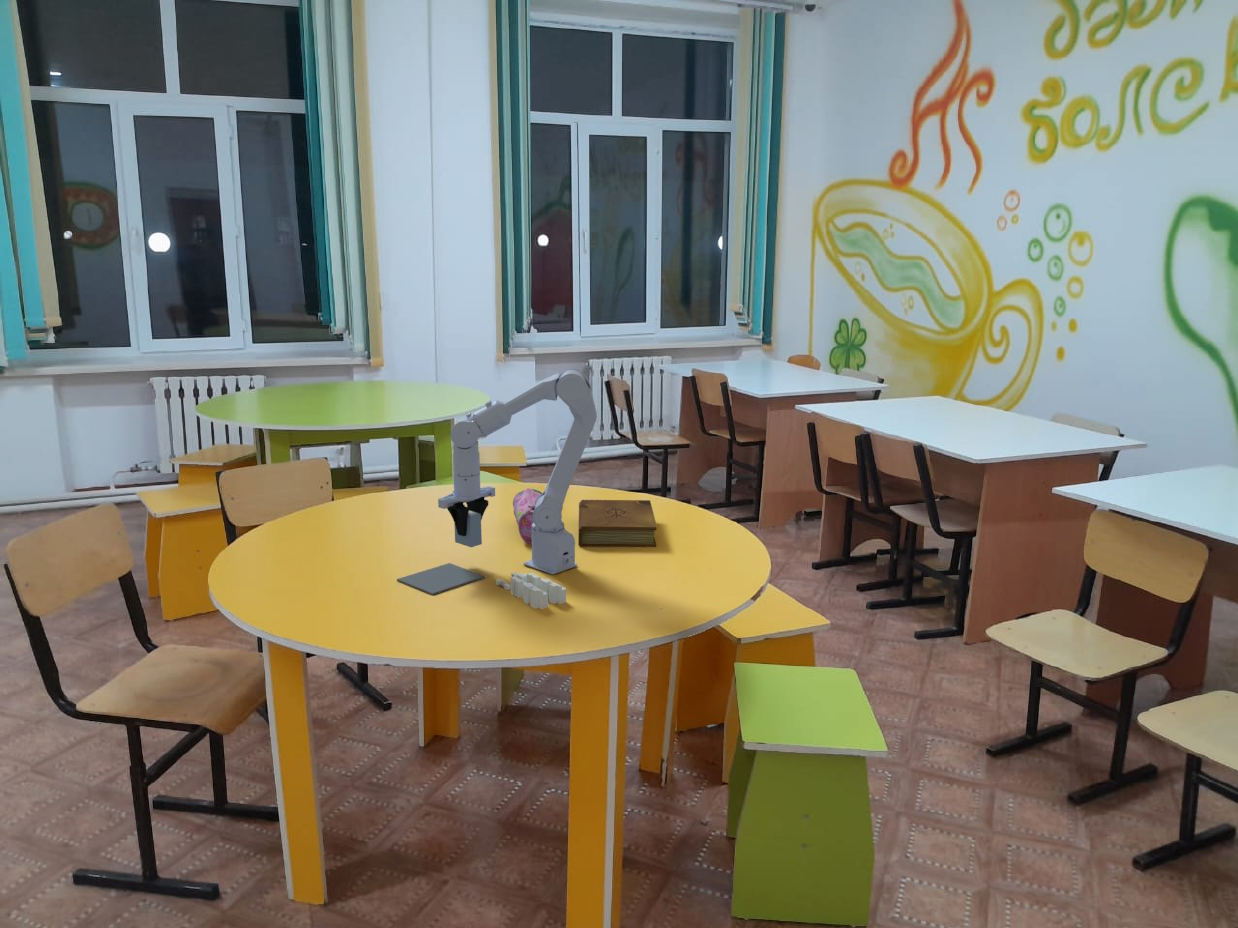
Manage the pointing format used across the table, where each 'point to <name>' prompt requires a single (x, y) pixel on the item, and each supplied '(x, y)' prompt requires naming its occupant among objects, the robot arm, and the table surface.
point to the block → (471, 531)
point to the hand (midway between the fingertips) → (468, 533)
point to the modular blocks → (535, 590)
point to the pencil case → (525, 511)
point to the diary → (616, 523)
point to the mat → (440, 578)
